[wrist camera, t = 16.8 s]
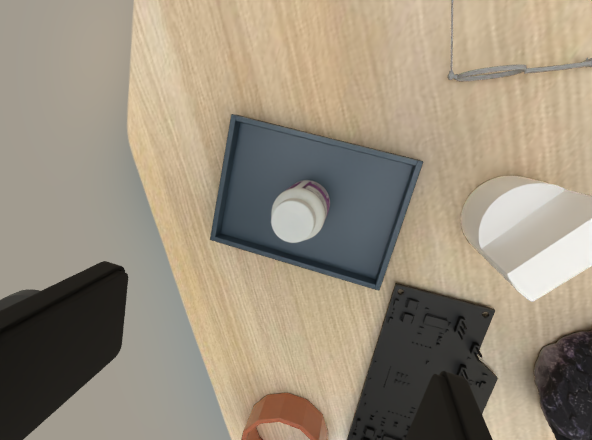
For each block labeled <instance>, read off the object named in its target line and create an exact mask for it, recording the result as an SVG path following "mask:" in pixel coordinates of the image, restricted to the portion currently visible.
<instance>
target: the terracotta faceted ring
mask: <svg viewBox="0 0 592 440" xmlns="http://www.w3.org/2000/svg"><path fill="white" fill-rule="evenodd" d="M272 422H281V423H284V424H287V425H290V426H292V427H295V428H298V429H300V430H301V431H302V432H303V433H304V434H305V435H306V436H307V437H308V438H309V439H310V440H327V438H328V430H327V427H326V424H325V421H324V417H323V415H322V413H321V412H320V411H319V410H317V409H316V408H315V407H314V406H313V405H312V404H311V403H310V402H309V401H308V400H307V399H304V398H301V397H298V396H295V395H293V394H290V393H279V394H270V395H266V396H265V397H264V398H263V399H261V400H260V401H259V402H258V403H256V404H255V405H254V406H253V409H252V411H251V414H250V416H249V419H248V421H247V424H246V426H245V429H244V431H243V435H242V439H241V440H263V439H261V438H260V437H259V434H258V431H257V429H256V426H258V425H259V424H261V423H272Z"/></svg>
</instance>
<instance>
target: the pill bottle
mask: <svg viewBox="0 0 592 440" xmlns="http://www.w3.org/2000/svg"><path fill="white" fill-rule="evenodd" d="M329 208H330V199H329V195H328V193H327V191H326V190H325V188H324V187H323V186H321V185H320V184H318V183H317V182H314V181H310V180H303V181H299V182H297V183H295V184H293V185H292V186H291V187H289V188H288V189H286V190H285V191H284V192H282V193H281V194H280V195H279V196H278V197H277V198H276V200H275V202H274V204H273V206H272V212H271V216H272V217H271V225H272V228H273V230H274V232H275V234H276V235H277V236H278V237H279V238H280V239H282V240H284V241H286V242H290V243H297V242H301V241H304V240H308V239H310V238H312V237H314V236H315V235H316V234H317V233H318V232H319V231H320V230H321V228H322V226H323V224H324V221H325V219H326V217H327V214H328V211H329Z"/></svg>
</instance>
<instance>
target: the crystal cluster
mask: <svg viewBox="0 0 592 440" xmlns="http://www.w3.org/2000/svg"><path fill="white" fill-rule="evenodd" d="M534 376H535V383H536V385H537V388H538V390H539V393H538V394H539V395H540V404H541V409H542V411H543V413H544V416H545V418H546V420H547V422H548V424H549V426H550V427H551V429H552V431H553V433H554V434H555V438H556V440H592V331H589V332H584V331H582V332H577V333H573V334H571V335H568V336H564V337H563V338H561V339H559V340H558V341H557V343H556V344H551V345H548V346H545V347H543V348H542V350H541V351H540V354H539V357H538V359H537V361H536V364H535V369H534Z"/></svg>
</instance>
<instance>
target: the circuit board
mask: <svg viewBox="0 0 592 440" xmlns="http://www.w3.org/2000/svg"><path fill="white" fill-rule="evenodd" d="M399 289H402V290H404V292H403V293H402V294H399V293H398V290H399ZM483 312H488V315H486V316H482V313H483ZM494 313H495V310H494V309H492V308H489V307H485V306H481V305H477V304H473V303H470V302H466V301H462V300H458V299H454V298H450V297H447V296H443V295H439V294H435V293H431V292H428V291H424V290H420V289H416V288H412V287H408V286H405V285H401V284H397V283H396V284H395V287H394V290H393V294H392V297H391V300H390V303H389V307H388V310H387V313H386V316H385V319H384V323H383V326H382V329H381V332H380V335H379V339H378V342H377V345H376V348H375V352H374V355H373V358H372V361H371V364H370V368H369V371H368V374H367V377H366V381H365V384H364V387H363V390H362V393H361V397H360V400H359V403H358V406H357V410H356V413H355V416H354V419H353V422H352V426H351V429H350V432H349V435H348V439H347V440H405V438H406V436H407V434H408V431H409V429H410V427H411V424H412V422H413V420H414V417H415V415H416V413H417V410H418V408H419V406H420V403H421V401H422V399H423V396H424V394H425V392H426V389H427V387H428V384H429V382H430V380H431V378H432V376H433V375H434V374H437V375H439V374H440V373H441V372H442V371H446V372H449V373H452V374H455V375H458V376H461V377H464V378H466V379H467V381H468V383H469V386H470V388H471V390H472V393H473V395H474V397H475V400H476V402H477V404H478V407H479V409H480V411H481V414H482V413H483V411H484V408H485V406H486V404H487V401H488V399H489V397H490V395H491V392H492V390H493V388H494V386H495V383H496V381H497V379H498V378H497V377H496V376H495V375H494V374H493V373H492V372H491V371H490V370H489V369H488V368H487V367H486V366H485V365H484V364H482V363H481V362H480V360H479V358H478V356H477V354H479V356H480V357H482V355H481V353H480V351H479V349H480V347H481V344H482V342H483V339H484V337H485V334H486V332H487V330H488V327H489V325H490V322H491V320H492V317H493V315H494Z"/></svg>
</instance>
